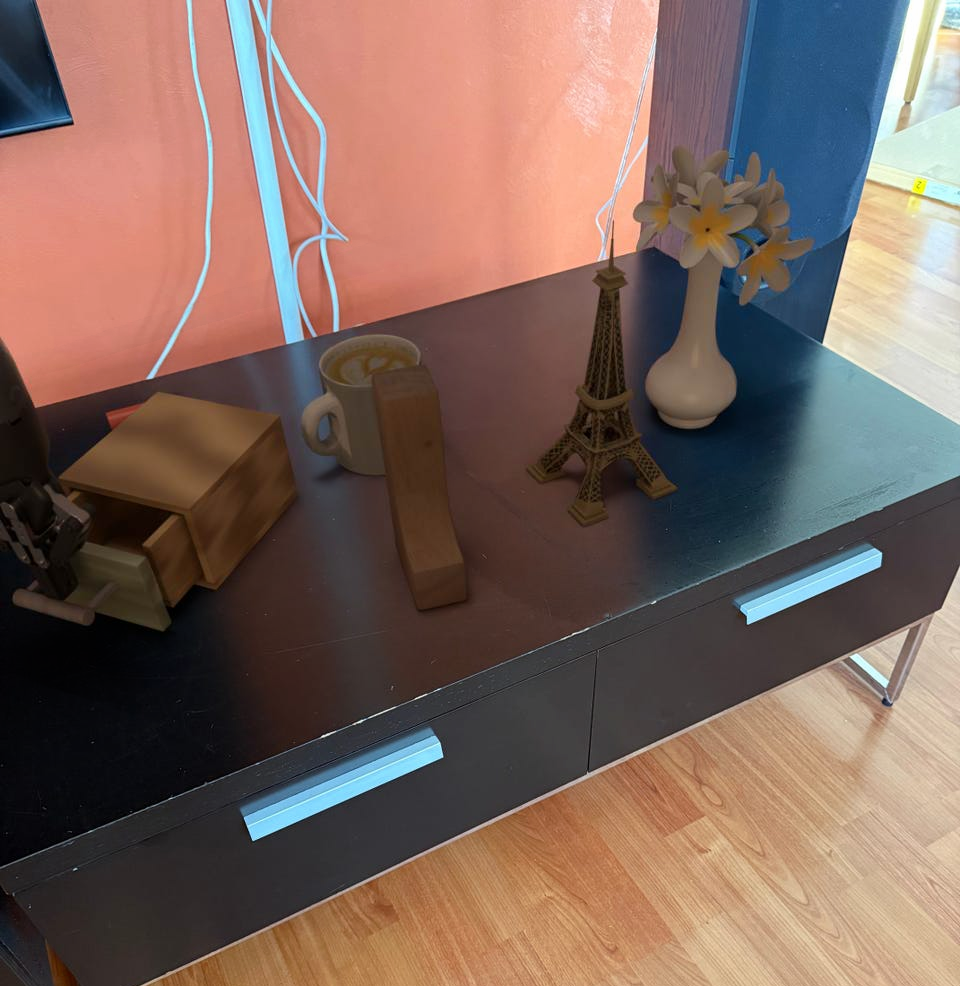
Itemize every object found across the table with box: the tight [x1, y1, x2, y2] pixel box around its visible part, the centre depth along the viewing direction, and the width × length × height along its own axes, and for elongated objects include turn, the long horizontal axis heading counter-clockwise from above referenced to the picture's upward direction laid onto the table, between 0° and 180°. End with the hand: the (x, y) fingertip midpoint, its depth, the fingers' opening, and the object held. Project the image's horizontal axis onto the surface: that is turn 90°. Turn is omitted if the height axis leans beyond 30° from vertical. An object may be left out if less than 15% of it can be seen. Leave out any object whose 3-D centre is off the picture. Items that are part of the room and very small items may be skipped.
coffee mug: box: [300, 333, 423, 476], centre depth 94 cm, size 13×10×10 cm
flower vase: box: [632, 144, 815, 430], centre depth 91 cm, size 13×18×25 cm
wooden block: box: [372, 363, 468, 611], centre depth 78 cm, size 9×4×18 cm, turn 16°
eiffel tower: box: [525, 220, 678, 528], centre depth 84 cm, size 11×11×25 cm
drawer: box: [12, 489, 204, 632], centre depth 82 cm, size 18×12×7 cm
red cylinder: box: [105, 402, 145, 431], centre depth 103 cm, size 7×2×2 cm, turn 115°
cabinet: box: [57, 391, 299, 591], centre depth 88 cm, size 15×14×9 cm
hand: (63, 592), depth 76 cm, fingers closed
